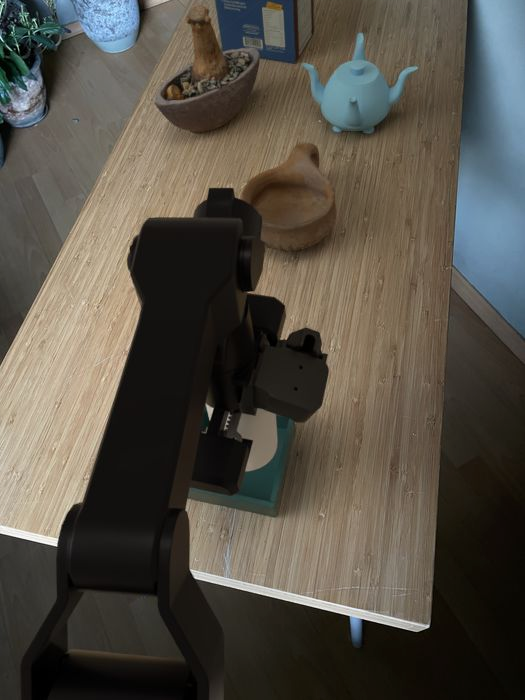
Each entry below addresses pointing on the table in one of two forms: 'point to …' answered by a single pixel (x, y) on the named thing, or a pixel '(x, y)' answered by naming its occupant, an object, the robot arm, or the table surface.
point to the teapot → (356, 93)
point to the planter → (208, 80)
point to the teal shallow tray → (257, 477)
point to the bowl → (293, 201)
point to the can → (257, 436)
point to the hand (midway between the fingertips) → (240, 424)
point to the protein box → (266, 26)
